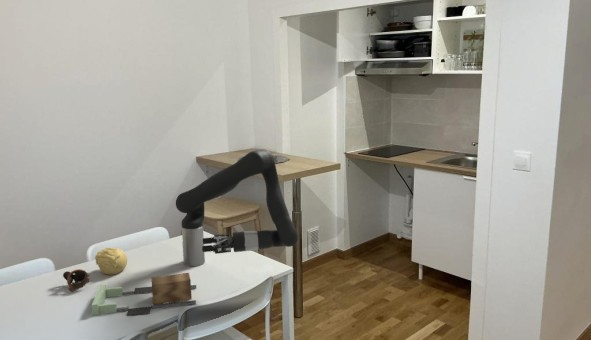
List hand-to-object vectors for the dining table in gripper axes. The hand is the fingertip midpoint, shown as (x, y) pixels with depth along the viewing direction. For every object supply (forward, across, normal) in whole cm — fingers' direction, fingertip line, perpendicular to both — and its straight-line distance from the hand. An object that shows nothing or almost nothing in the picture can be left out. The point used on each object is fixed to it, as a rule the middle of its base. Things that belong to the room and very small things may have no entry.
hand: (202, 245), depth 182 cm
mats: (+24, 0, +20) cm, 31 cm away
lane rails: (+18, 0, +20) cm, 27 cm away
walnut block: (+13, 0, +20) cm, 24 cm away
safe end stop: (+36, 0, +20) cm, 41 cm away
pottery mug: (+51, -18, +19) cm, 58 cm away
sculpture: (+40, -30, +19) cm, 53 cm away
